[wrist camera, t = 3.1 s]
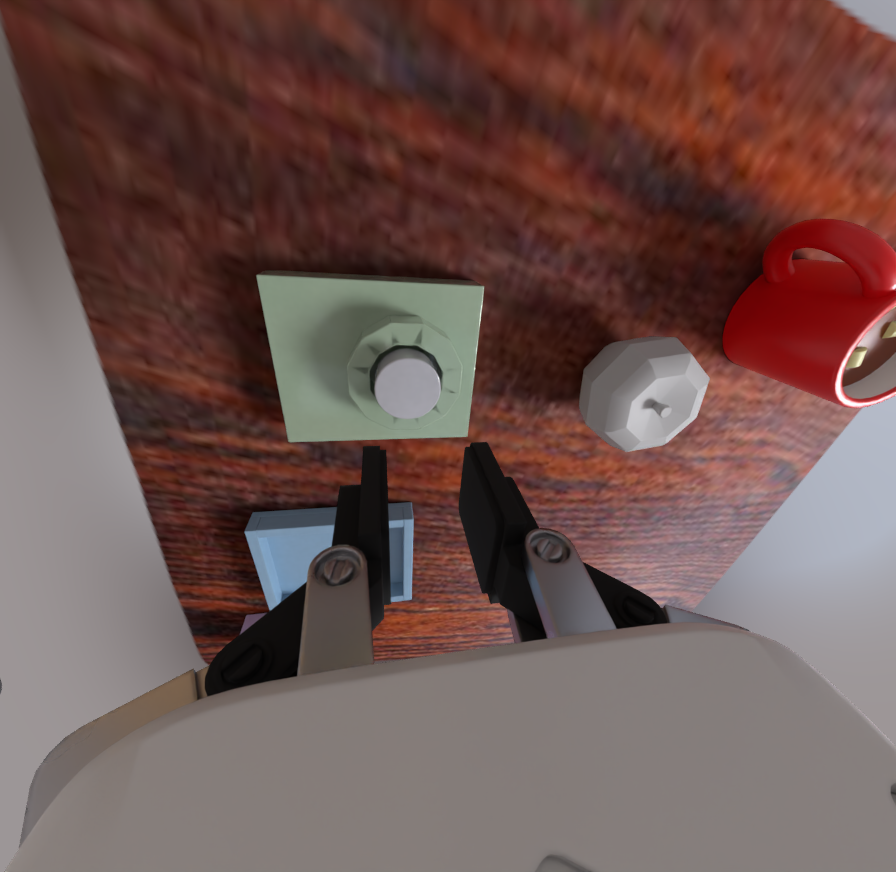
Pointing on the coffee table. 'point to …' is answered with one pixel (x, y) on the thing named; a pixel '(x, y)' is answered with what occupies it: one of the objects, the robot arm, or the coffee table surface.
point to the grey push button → (406, 384)
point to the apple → (641, 392)
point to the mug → (821, 315)
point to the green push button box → (367, 350)
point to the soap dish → (318, 548)
